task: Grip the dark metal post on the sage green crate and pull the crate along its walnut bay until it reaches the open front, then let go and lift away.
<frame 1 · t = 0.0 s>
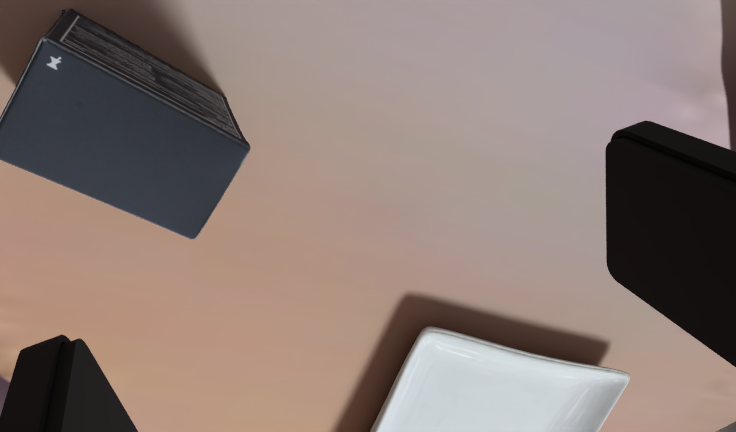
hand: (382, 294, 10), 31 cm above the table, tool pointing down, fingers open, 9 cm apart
small box: (129, 98, 37), on the table
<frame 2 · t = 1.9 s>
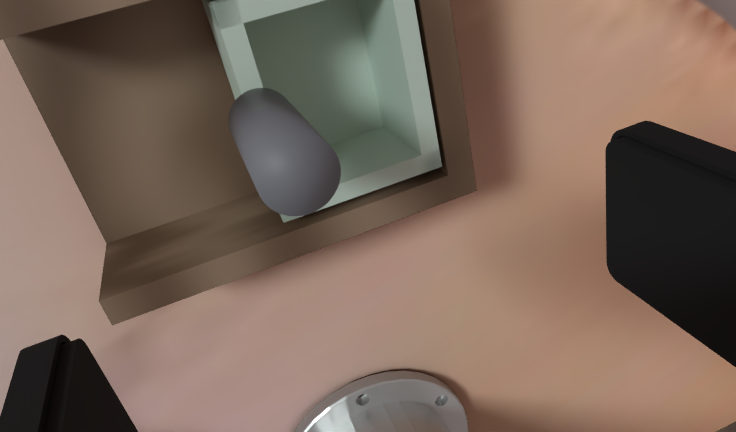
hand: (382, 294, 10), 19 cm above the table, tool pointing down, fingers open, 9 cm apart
bay: (241, 86, 26), on the table
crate: (334, 101, 21), point 6 cm above the table, slide at 0.0 cm
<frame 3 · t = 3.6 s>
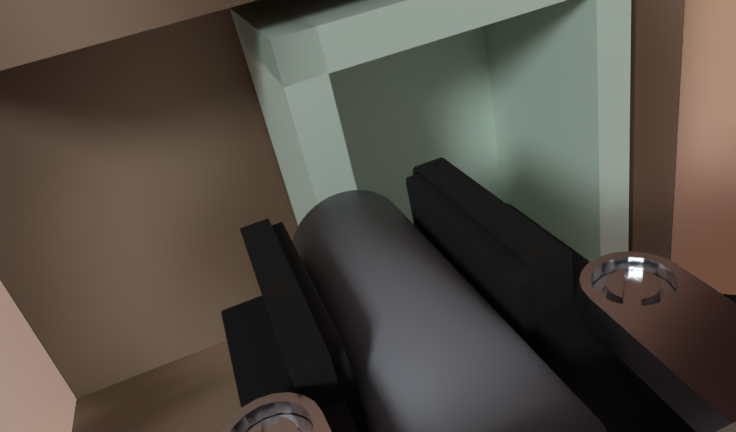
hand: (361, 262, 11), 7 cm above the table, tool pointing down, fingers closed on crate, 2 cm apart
bay: (289, 150, 17), on the table
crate: (483, 209, 12), point 6 cm above the table, slide at 0.0 cm, touching gripper
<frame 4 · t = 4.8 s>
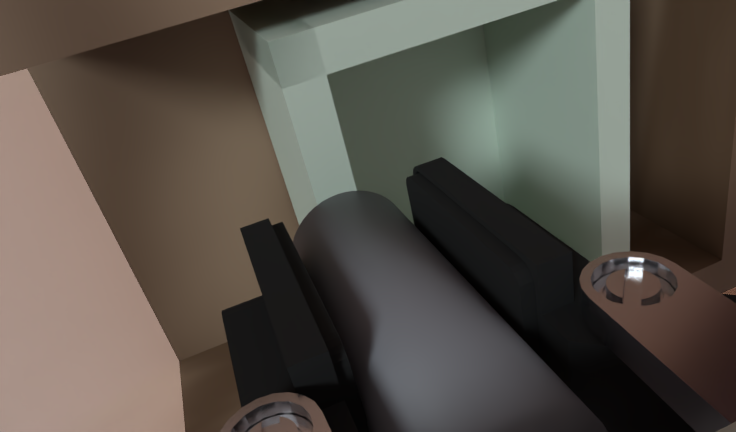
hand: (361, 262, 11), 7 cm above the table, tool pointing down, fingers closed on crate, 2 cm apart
bay: (382, 119, 17), on the table
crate: (483, 208, 12), point 6 cm above the table, slide at 2.9 cm, touching gripper
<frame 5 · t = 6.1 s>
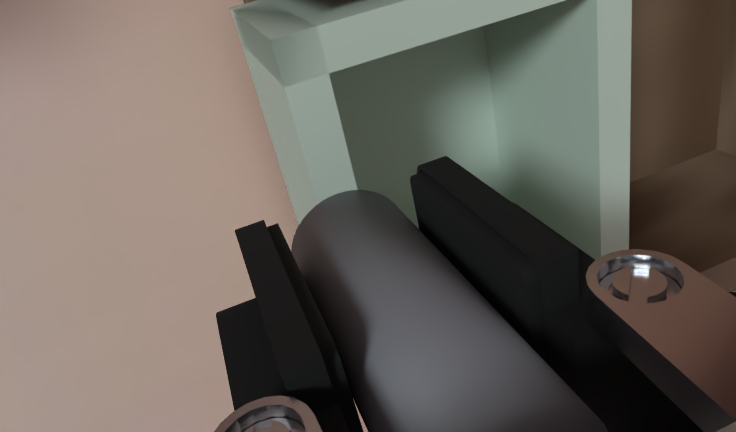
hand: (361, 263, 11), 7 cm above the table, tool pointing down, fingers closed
bay: (532, 70, 18), on the table
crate: (483, 209, 12), point 6 cm above the table, slide at 8.0 cm
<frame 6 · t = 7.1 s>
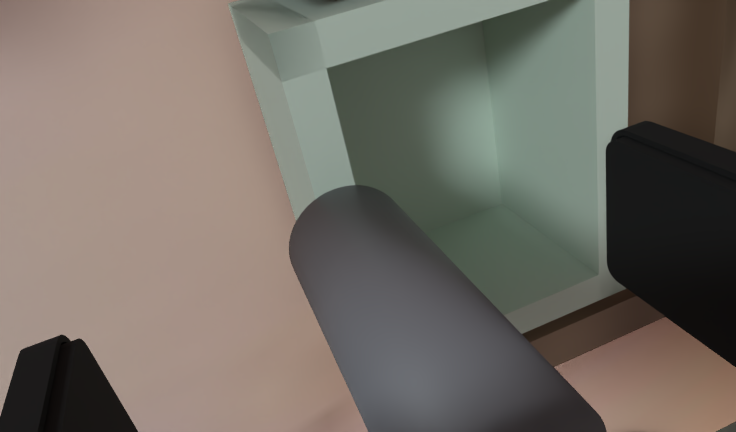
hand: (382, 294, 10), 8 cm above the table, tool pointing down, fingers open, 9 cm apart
bay: (530, 67, 18), on the table
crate: (481, 205, 12), point 6 cm above the table, slide at 8.0 cm
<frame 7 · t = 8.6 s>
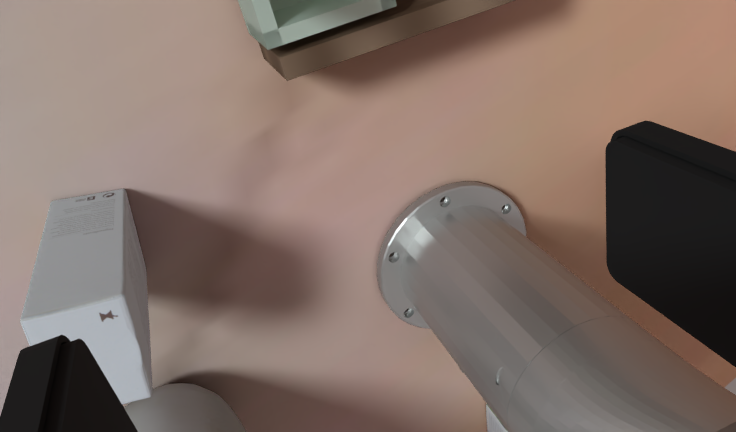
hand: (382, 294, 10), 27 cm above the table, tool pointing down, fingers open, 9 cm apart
syrup box: (509, 409, 57), on the table
skincare box: (100, 236, 36), on the table
glass bottle: (169, 410, 43), on the table
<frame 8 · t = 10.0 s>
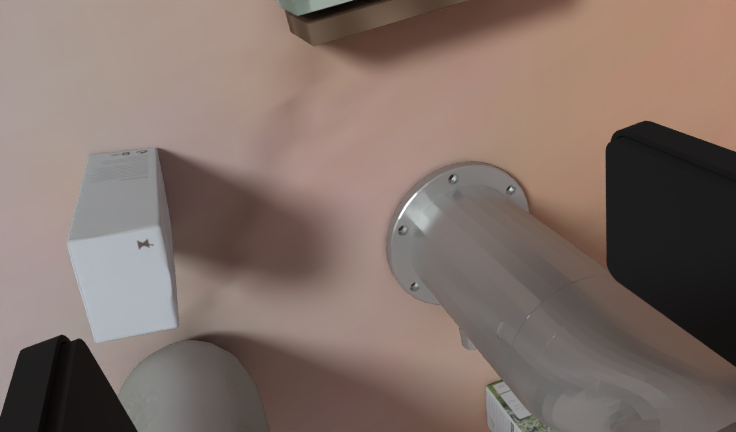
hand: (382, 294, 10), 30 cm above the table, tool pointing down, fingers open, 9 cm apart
syrup box: (508, 394, 59), on the table
skincare box: (131, 192, 38), on the table
glass bottle: (183, 369, 45), on the table
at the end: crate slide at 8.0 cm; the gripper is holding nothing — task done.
